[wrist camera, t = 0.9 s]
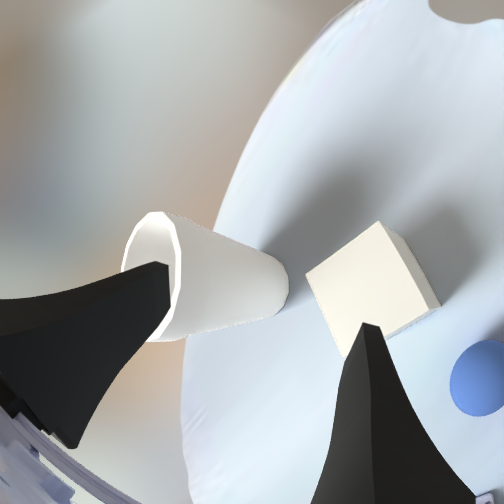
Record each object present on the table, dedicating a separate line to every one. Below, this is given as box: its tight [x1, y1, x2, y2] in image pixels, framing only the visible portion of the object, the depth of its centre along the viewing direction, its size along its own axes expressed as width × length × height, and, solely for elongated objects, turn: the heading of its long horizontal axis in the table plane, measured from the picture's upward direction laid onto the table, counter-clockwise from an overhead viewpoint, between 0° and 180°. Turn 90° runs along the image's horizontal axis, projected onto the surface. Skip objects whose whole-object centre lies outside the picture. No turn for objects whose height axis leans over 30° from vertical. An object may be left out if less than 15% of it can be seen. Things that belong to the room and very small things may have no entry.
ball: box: [450, 340, 504, 416], centre depth 13 cm, size 5×5×5 cm
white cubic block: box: [305, 220, 441, 358], centre depth 19 cm, size 6×6×6 cm
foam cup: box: [121, 212, 289, 342], centre depth 26 cm, size 10×9×13 cm
